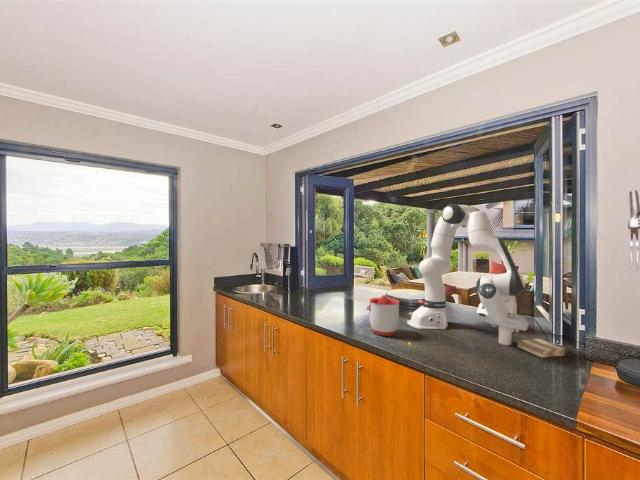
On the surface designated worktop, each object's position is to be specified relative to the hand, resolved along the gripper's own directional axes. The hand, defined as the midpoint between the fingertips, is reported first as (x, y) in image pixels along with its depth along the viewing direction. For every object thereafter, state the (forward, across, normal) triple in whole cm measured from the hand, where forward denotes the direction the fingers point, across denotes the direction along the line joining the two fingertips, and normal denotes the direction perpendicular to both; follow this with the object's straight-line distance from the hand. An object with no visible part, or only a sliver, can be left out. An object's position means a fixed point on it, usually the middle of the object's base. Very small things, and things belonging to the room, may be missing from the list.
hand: (505, 328), depth 139 cm
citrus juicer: (-21, +45, +31) cm, 59 cm away
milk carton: (+21, +8, -11) cm, 25 cm away
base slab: (+6, -13, +4) cm, 15 cm away
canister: (+5, 0, +5) cm, 7 cm away
